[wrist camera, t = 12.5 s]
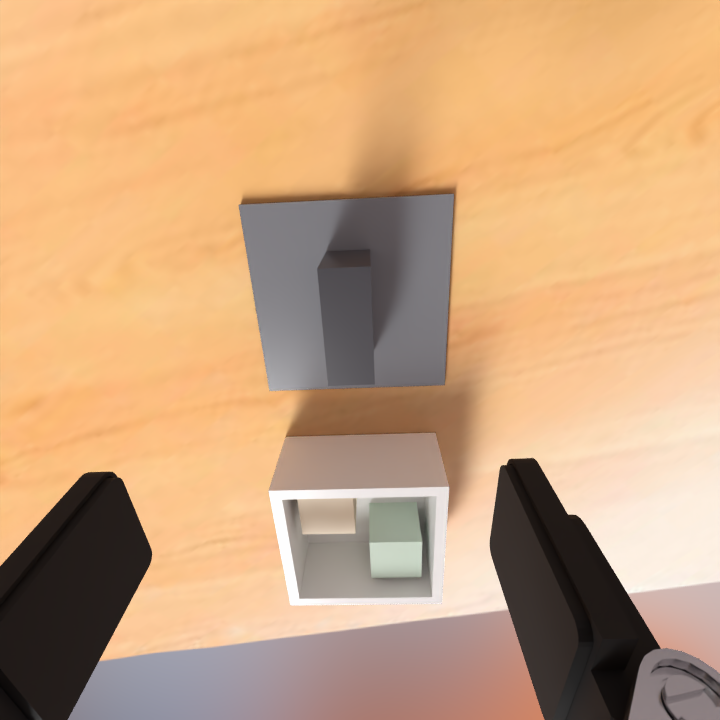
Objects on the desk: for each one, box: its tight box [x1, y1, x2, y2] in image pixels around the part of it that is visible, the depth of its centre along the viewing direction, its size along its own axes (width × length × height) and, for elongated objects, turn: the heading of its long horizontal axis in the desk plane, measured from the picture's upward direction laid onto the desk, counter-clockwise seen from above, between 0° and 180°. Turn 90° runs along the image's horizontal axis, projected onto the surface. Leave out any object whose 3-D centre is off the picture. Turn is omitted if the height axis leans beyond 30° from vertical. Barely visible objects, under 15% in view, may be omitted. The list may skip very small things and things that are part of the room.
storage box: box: [269, 433, 449, 605], centre depth 32 cm, size 12×12×6 cm
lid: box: [239, 194, 454, 391], centre depth 25 cm, size 13×13×6 cm
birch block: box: [297, 498, 357, 534], centre depth 31 cm, size 4×4×4 cm
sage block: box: [369, 502, 422, 578], centre depth 33 cm, size 4×4×4 cm
